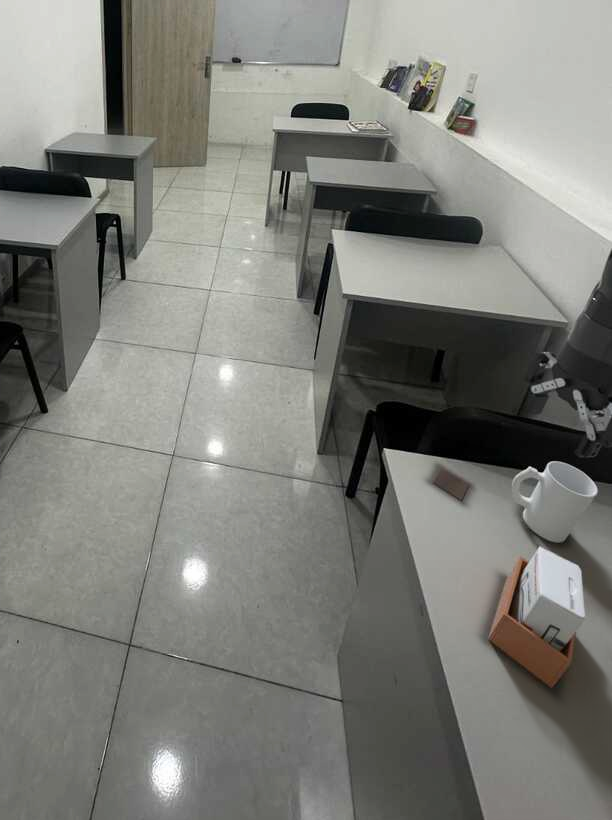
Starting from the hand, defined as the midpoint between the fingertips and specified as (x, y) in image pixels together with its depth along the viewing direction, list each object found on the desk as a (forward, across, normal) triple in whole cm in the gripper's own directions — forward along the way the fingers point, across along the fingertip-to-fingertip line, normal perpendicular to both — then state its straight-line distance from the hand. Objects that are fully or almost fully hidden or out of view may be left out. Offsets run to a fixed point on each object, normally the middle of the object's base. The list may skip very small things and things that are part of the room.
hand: (556, 432), depth 74 cm
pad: (+22, +9, +4) cm, 24 cm away
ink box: (+22, -14, +10) cm, 28 cm away
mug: (+23, +1, -6) cm, 24 cm away
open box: (+22, -14, +10) cm, 28 cm away
